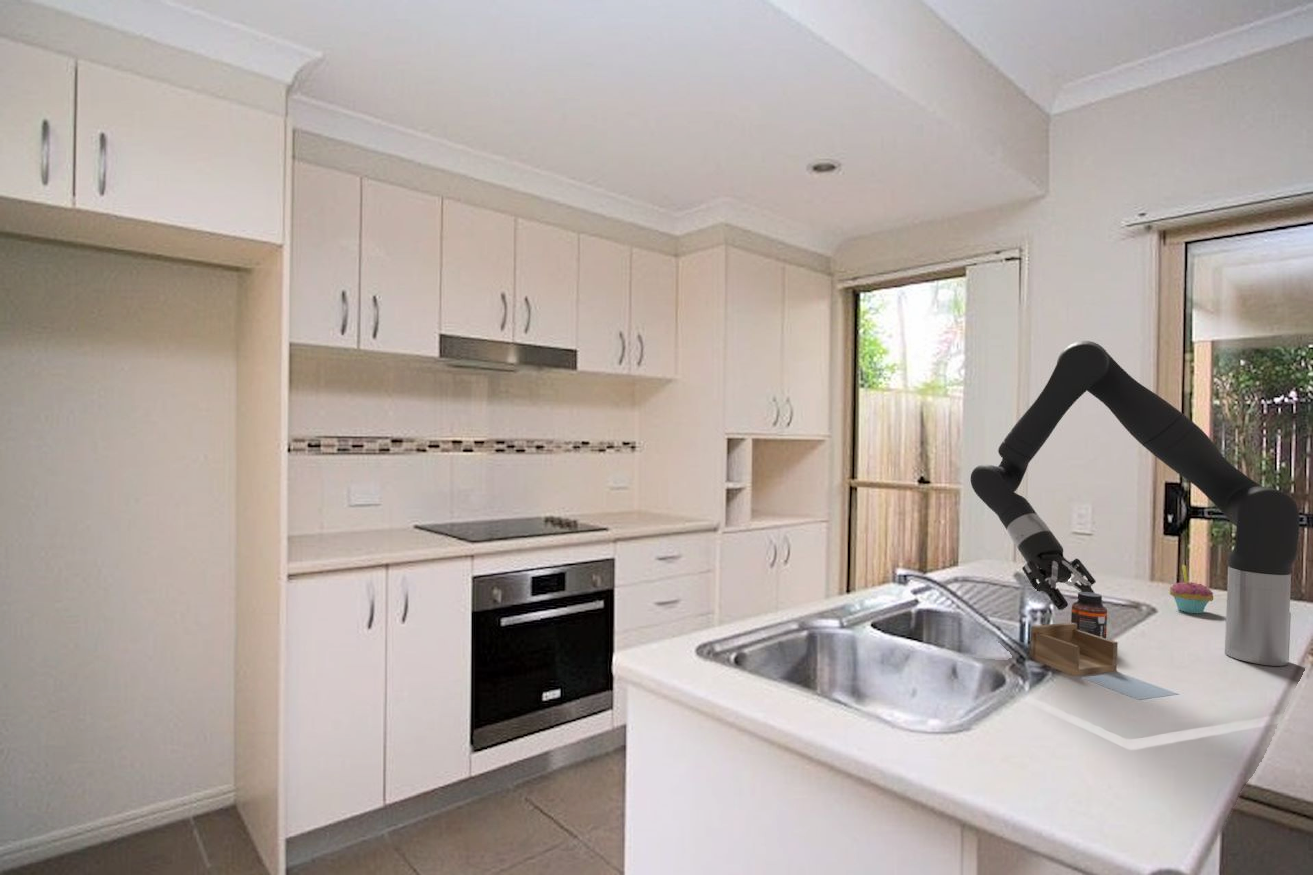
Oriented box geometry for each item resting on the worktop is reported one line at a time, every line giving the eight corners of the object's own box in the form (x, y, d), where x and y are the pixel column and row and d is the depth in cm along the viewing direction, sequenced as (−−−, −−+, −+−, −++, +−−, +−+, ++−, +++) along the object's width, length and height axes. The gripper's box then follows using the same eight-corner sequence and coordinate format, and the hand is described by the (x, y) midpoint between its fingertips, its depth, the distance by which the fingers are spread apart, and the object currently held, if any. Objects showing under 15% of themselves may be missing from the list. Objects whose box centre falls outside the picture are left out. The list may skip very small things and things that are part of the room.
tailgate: (1119, 672, 121) (1178, 693, 111) (1119, 678, 121) (1178, 700, 111) (1081, 677, 118) (1138, 699, 109) (1080, 682, 118) (1138, 705, 109)
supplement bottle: (1111, 657, 132) (1113, 598, 132) (1077, 654, 134) (1079, 596, 133) (1098, 647, 138) (1100, 591, 138) (1065, 644, 139) (1067, 589, 139)
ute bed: (1070, 659, 130) (1072, 622, 130) (1116, 675, 122) (1117, 636, 122) (1030, 663, 127) (1031, 626, 127) (1073, 681, 119) (1075, 640, 119)
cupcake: (1180, 614, 166) (1182, 564, 166) (1161, 605, 175) (1163, 558, 175) (1220, 617, 165) (1223, 567, 165) (1199, 608, 173) (1201, 560, 173)
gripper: (1019, 530, 143) (1065, 598, 133) (1070, 528, 148) (1119, 594, 137) (997, 551, 149) (1041, 618, 138) (1048, 549, 153) (1094, 614, 143)
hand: (1080, 606), depth 138 cm, fingers open, 8 cm apart
